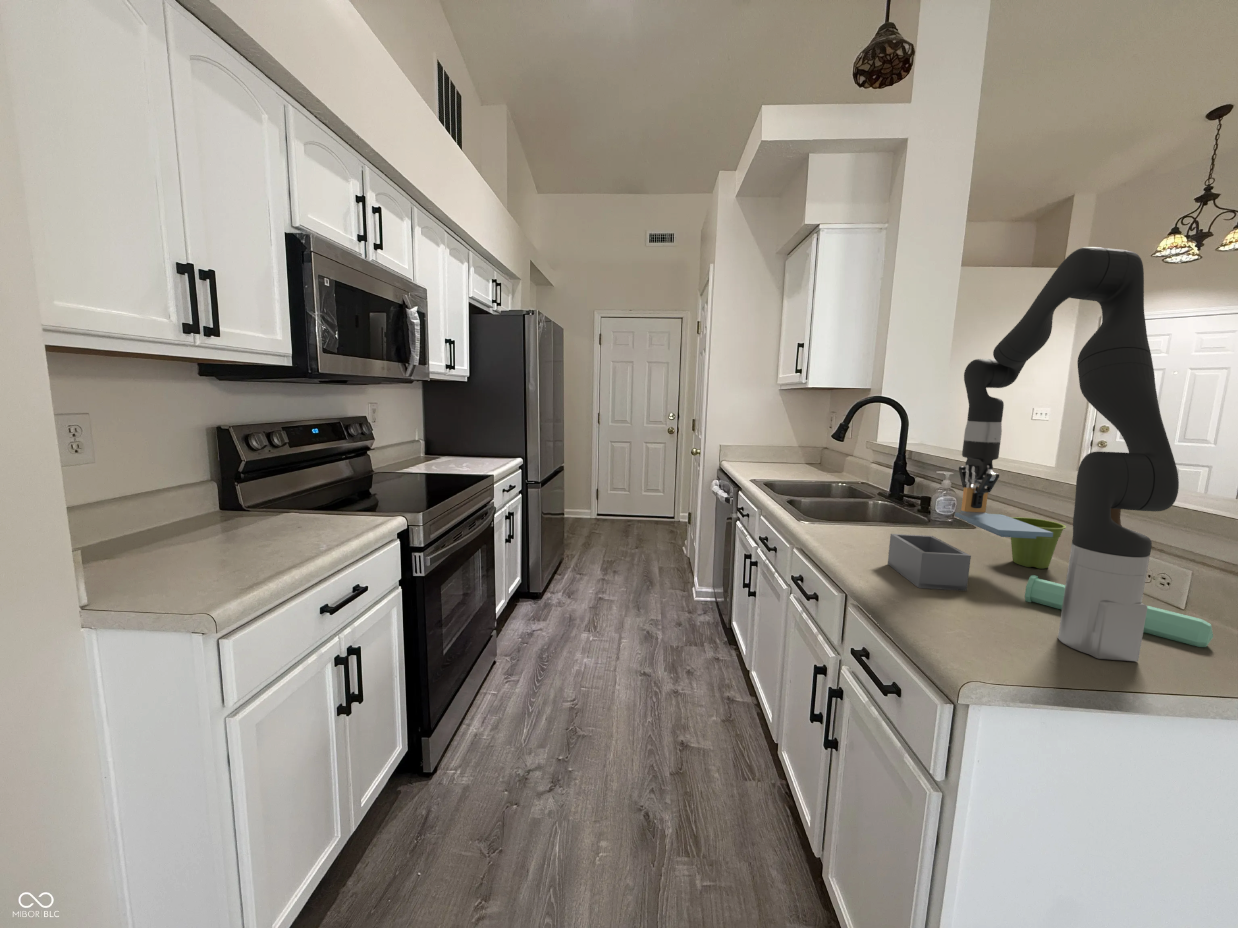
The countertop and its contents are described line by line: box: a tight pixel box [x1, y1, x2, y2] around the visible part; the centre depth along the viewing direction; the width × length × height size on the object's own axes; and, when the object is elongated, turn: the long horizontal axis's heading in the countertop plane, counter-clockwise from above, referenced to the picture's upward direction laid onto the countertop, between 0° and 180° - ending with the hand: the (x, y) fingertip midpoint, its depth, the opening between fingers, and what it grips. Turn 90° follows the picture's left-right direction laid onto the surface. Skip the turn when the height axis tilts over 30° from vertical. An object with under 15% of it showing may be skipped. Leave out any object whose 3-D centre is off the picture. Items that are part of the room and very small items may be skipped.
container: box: [1024, 574, 1214, 648], centre depth 94 cm, size 6×6×25 cm
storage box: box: [887, 533, 972, 592], centre depth 116 cm, size 16×10×8 cm, turn 174°
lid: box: [954, 487, 1053, 539], centre depth 117 cm, size 20×11×8 cm, turn 174°
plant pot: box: [1010, 516, 1067, 570], centre depth 127 cm, size 12×12×11 cm
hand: (973, 506), depth 126 cm, fingers closed on lid, 1 cm apart
